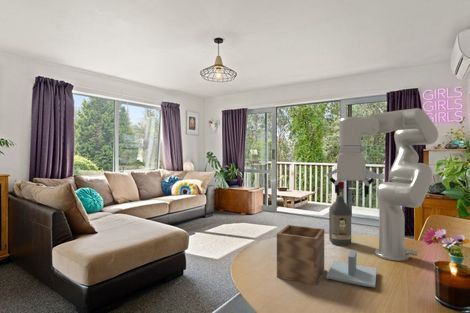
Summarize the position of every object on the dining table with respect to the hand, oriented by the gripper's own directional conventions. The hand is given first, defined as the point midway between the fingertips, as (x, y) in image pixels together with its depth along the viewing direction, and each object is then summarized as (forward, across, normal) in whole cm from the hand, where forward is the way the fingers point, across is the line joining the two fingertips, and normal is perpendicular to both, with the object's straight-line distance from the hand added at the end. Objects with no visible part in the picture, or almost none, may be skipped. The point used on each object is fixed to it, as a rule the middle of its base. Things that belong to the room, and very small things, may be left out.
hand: (351, 195), depth 107 cm
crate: (+27, +17, +12) cm, 34 cm away
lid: (+28, 0, +8) cm, 29 cm away
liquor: (+29, +8, -32) cm, 44 cm away
